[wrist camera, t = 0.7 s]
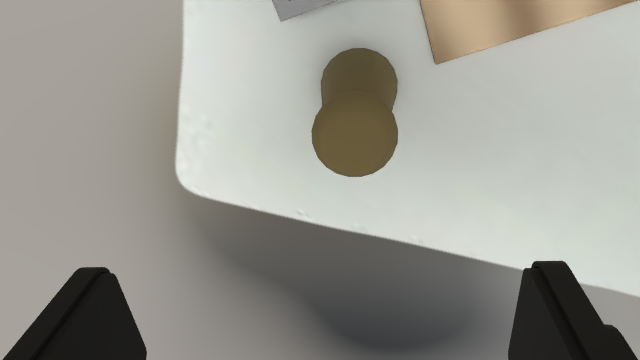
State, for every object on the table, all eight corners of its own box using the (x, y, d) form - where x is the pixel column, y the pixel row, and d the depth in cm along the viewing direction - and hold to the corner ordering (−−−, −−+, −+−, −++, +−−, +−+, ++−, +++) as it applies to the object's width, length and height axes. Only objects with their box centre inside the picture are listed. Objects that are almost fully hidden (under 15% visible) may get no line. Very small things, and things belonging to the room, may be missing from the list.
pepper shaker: (305, 87, 35) (280, 147, 26) (358, 30, 32) (352, 74, 23) (359, 136, 37) (354, 209, 27) (414, 85, 34) (429, 147, 25)
